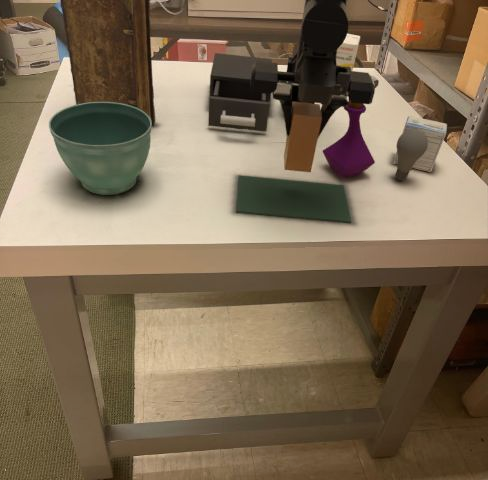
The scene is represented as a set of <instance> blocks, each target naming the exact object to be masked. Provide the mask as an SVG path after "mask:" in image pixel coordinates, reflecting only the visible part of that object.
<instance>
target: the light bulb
mask: <svg viewBox="0 0 488 480" xmlns="http://www.w3.org/2000/svg"><path fill="white" fill-rule="evenodd" d="M402 133H403V132H402ZM402 133H401V135H399V137H398V139H397V142H396V152H397V153H398V164H396V171H395V175H394V176H395V178H396V179H397V180H398V181H403V180H404V181H405V180H407V178H408V176H409V174H410V171H412V169H413V168H412V167H413V165H414V163H415V162H416V161H417V160H418V159H419V158H420V157H421V156H422V155H423V154H424V153H425V151H426V149H427V146H428V140H427V137H426V135H425V134H424V133H423V132H422V131H420V130H418V129H410V130H407V131H405V132H404V133H403V134H402Z"/></svg>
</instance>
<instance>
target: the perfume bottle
mask: <svg viewBox="0 0 488 480" xmlns="http://www.w3.org/2000/svg"><path fill="white" fill-rule="evenodd" d="M369 75H370V76H371V78H372V81H373V83H374V86H375V89H376V88H377V87H378V86H379V83H380V82H379V81H380V80H379V79H378V78H377V77H375V76H374V75H371V74H369ZM343 109H344V111H346V113H347V115H348V119H349V121H348V127H347V130H346V132H345V133H344V135H343V136H342V137H341V138H339V139H338V140H337V141H336V142H333V143H332V144H330V145H329V146H327V147H326V148H324V149H323V150H322V153H323V156H324V157H325V159H326V162H327V164H328V166H329V168H330V169H331V170H332V171H333V172H334V173H335V174H336V175H337V176H339V177H340V178H341V179H346V178H351V177H357V176H360V175H361V174H362V173H364V172H365V171H367V170H369V168H370V167H373V165H375V164H376V161H375V159H374V157H373V155H372V154H371V151H370V149H369V147H368V145H367V143H366V141H365V139H364V137H363V134H362V128H361V122H360V121H361V115H362V114H364V113H366V111H367V106H366V104H360V103H352V102H351V100H350V99H349V98H348V105H347V106H346V107H343Z"/></svg>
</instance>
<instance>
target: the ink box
mask: <svg viewBox="0 0 488 480" xmlns="http://www.w3.org/2000/svg"><path fill="white" fill-rule="evenodd" d="M360 41H361V35H356V34H353V33H352V34H351V33H347V36H346V39H345V40H344V42H343V43H342V45H341V46H340V47H339V48H338V49H337V55H336V64H337V66H342V67H350V68H351V71H354V66H355V61H356V57H357V53H358V49H359V44H360Z"/></svg>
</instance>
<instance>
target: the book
mask: <svg viewBox="0 0 488 480" xmlns="http://www.w3.org/2000/svg"><path fill="white" fill-rule="evenodd" d="M59 1H60V8H61V12H62V19H63V24H64V27H63V29H64V32H65V37H66V44H67V45H66V46H67V47H66V48H67V52H68V57H69V63H70V64H69V65H70V73H71V75H72V76H71V78H72V85H73V92H74V99H75V105H78V104H83V103H89V102H114V103H122V104H126V105H130V106H133V107H136V108H138V109H140V110H142V111H143V112H145V113H146V114H147V115H148V116H149V117H150V119H151V121H152V126H155V125H156V109H155V101H154V99H155V93H154V84H153V83H154V81H153V59H152V42H151V41H152V40H151V39H152V38H151V33H152V32H151V31H152V30H151V28H152V27H151V18H150V17H151V15H150V14H151V0H59Z"/></svg>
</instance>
